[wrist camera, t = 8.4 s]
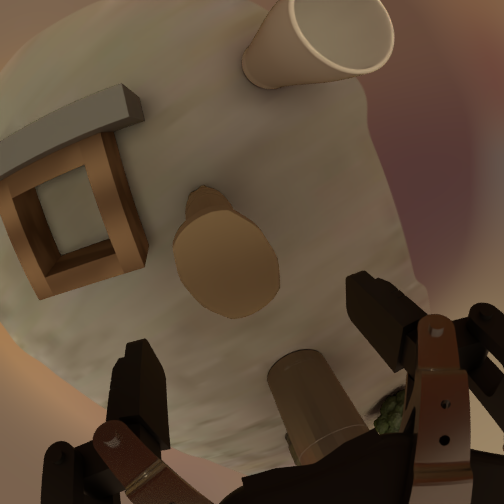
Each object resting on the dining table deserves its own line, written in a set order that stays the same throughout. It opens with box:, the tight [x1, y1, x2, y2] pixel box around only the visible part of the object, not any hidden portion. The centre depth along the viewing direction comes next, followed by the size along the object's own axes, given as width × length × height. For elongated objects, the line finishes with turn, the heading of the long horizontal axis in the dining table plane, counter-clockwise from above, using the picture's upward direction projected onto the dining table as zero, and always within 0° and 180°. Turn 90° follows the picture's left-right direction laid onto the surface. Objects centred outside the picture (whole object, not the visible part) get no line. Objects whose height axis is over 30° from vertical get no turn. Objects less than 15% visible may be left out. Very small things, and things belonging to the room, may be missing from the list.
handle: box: [173, 185, 280, 319], centre depth 22 cm, size 5×6×15 cm
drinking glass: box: [242, 0, 394, 89], centre depth 18 cm, size 7×7×15 cm
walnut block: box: [0, 132, 149, 300], centre depth 23 cm, size 12×12×5 cm
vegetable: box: [374, 389, 405, 434], centre depth 51 cm, size 12×13×15 cm
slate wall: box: [0, 83, 145, 181], centre depth 19 cm, size 2×17×9 cm, turn 102°
